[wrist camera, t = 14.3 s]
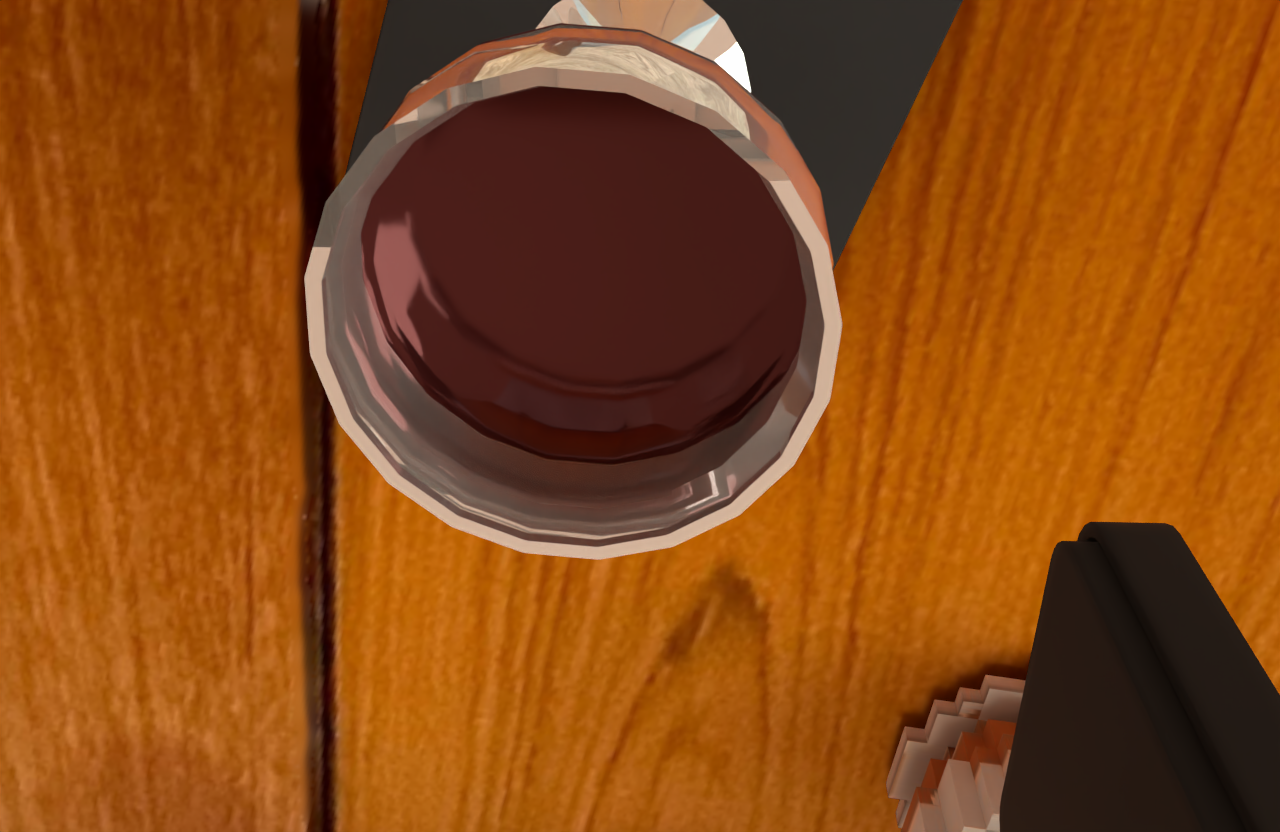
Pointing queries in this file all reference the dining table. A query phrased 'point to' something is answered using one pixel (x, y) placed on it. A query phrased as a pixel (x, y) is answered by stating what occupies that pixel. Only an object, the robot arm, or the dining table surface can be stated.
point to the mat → (775, 61)
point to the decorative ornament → (957, 761)
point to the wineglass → (580, 286)
